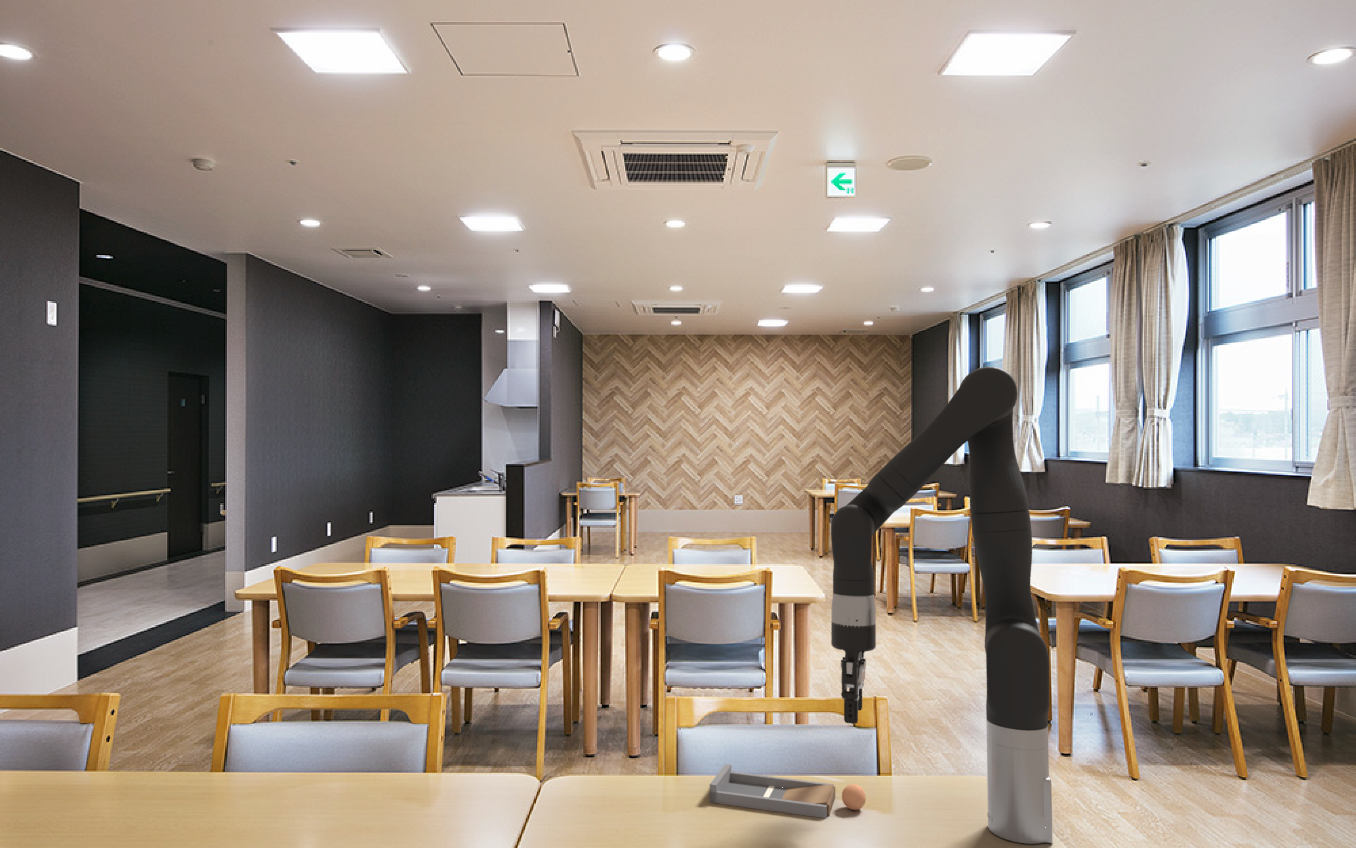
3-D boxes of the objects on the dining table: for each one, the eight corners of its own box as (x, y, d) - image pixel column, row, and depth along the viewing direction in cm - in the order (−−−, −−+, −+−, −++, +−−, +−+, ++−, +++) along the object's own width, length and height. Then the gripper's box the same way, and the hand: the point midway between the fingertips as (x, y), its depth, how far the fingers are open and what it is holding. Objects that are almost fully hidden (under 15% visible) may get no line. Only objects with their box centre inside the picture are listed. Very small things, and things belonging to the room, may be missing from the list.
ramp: (835, 801, 142) (835, 784, 142) (829, 820, 134) (829, 802, 134) (786, 795, 145) (786, 778, 145) (778, 813, 137) (778, 795, 137)
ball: (866, 806, 138) (866, 782, 139) (864, 815, 134) (864, 790, 135) (843, 803, 139) (843, 779, 140) (840, 812, 136) (840, 787, 136)
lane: (833, 794, 143) (833, 777, 144) (826, 818, 133) (826, 799, 133) (724, 780, 149) (725, 764, 150) (709, 802, 139) (709, 784, 139)
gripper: (872, 628, 131) (872, 730, 130) (878, 615, 145) (878, 707, 144) (826, 625, 134) (826, 725, 133) (836, 612, 147) (836, 703, 146)
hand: (853, 716), depth 138 cm, fingers open, 8 cm apart
